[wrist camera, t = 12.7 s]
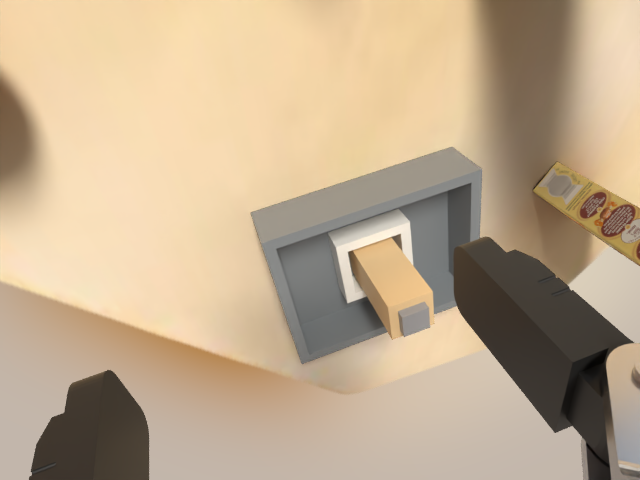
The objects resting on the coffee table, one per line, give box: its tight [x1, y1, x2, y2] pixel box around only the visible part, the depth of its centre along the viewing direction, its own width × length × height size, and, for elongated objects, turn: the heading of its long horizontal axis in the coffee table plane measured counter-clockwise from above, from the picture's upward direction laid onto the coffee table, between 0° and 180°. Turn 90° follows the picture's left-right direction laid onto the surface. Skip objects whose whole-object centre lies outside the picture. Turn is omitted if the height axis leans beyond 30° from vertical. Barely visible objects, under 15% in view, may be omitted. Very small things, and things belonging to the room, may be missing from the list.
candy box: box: [533, 162, 640, 266], centre depth 45 cm, size 9×4×15 cm, turn 57°
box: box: [251, 147, 482, 364], centre depth 45 cm, size 20×16×5 cm
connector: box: [349, 237, 434, 340], centre depth 42 cm, size 4×4×11 cm
